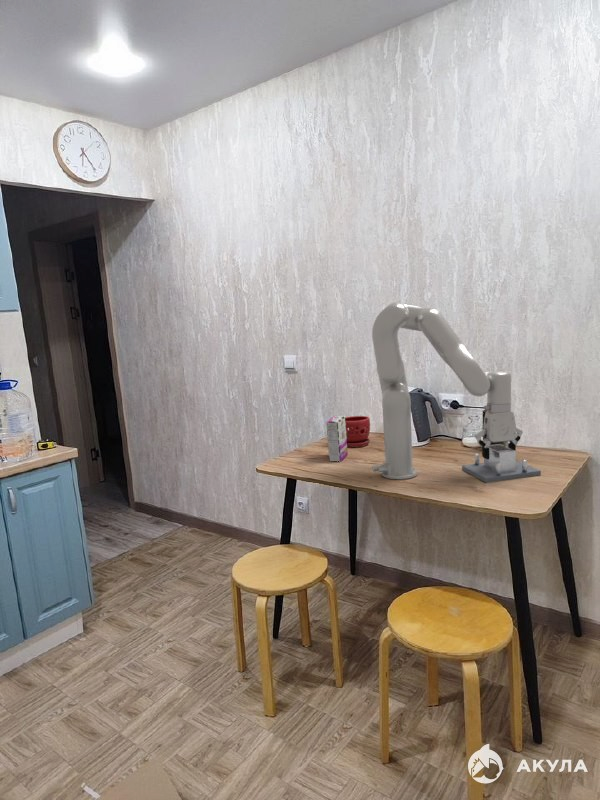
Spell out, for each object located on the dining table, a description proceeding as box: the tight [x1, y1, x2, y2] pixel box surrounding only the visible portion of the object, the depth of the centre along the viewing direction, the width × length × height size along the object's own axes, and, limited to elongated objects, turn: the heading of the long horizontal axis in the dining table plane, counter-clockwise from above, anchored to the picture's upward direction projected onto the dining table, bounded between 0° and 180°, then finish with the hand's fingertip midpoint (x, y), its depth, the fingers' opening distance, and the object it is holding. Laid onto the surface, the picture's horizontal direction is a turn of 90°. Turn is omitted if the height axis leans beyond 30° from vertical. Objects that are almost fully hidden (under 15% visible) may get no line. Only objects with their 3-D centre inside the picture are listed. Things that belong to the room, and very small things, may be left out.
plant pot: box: [345, 415, 371, 448], centre depth 239 cm, size 13×13×12 cm
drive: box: [483, 444, 517, 473], centre depth 187 cm, size 6×10×7 cm, turn 11°
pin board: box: [461, 459, 542, 484], centre depth 188 cm, size 20×16×2 cm
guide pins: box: [474, 452, 528, 476], centre depth 187 cm, size 11×15×4 cm
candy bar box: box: [325, 415, 349, 463], centre depth 219 cm, size 11×5×16 cm, turn 160°
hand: (498, 456), depth 187 cm, fingers open, 9 cm apart
